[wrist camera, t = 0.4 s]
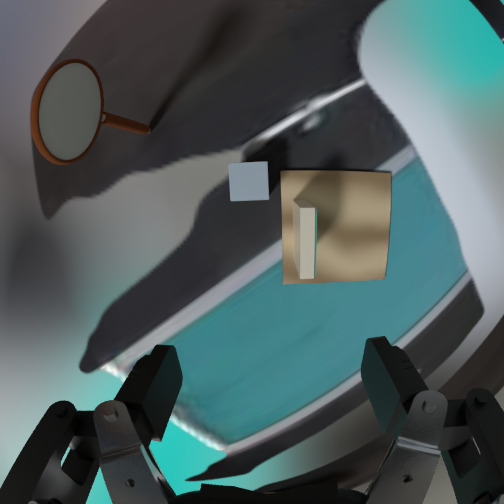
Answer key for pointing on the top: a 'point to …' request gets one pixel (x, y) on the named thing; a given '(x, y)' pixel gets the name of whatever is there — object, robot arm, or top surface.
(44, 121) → the magnifying glass
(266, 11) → the top surface
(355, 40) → the top surface
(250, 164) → the block
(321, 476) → the top surface
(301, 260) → the tile
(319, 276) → the cork mat
